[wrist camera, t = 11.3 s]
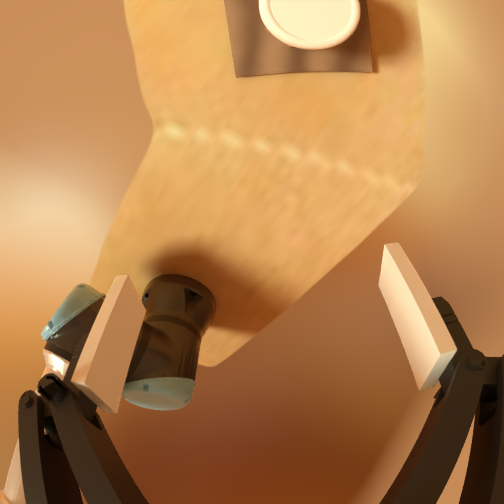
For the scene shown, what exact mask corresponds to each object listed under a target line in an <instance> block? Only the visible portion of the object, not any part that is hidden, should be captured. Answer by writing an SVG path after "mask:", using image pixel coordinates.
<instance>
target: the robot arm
mask: <svg viewBox="0 0 504 504" xmlns="http://www.w3.org/2000/svg"><path fill="white" fill-rule="evenodd" d="M378 286H379V288H380V290H381V293H382V295H383V297H384V299H385V302H386V304H387V306H388V309H389V311H390V314H391V316H392V319H393V321H394V324H395V326H396V329H397V331H398V334H399V336H400V339H401V341H402V344H403V347H404V350H405V352H406V355H407V358H408V361H409V363H410V366H411V369H412V372H413V374H414V378H415V381H416V384H417V387H418V390H419V391H421V390H424V389H427V388H430V387H434V386H435V384H436V383H437V381H438V380H439V382H440V384H441V388H440V389H439V390H438V392H437V393H436V395H435V396H434V398H435V402H434V404H433V406H432V409H431V411H430V413H429V416H428V418H427V420H426V422H425V424H424V427H423V429H422V431H421V433H420V435H419V437H418V439H417V441H416V443H415V445H414V447H413V449H412V451H411V452H410V454H409V456H408V458H407V460H406V462H405V463H404V465H403V467H402V469H401V470H400V472H399V474H398V476H397V477H396V479H395V480H394V482H393V484H392V485H391V487H390V488H389V490H388V491H387V493H386V495H385V496H384V498H383V499H382V501H381V502H380V503H379V504H436V502H437V501H438V499H439V497H440V495H441V493H442V491H443V489H444V487H445V485H446V484H447V482H448V479H449V477H450V475H451V473H452V471H453V469H454V467H455V464H456V462H457V460H458V457H459V455H460V453H461V450H462V448H463V445H464V443H465V440H466V438H467V435H468V432H469V429H470V427H471V423H472V421H473V418H474V415H475V421H474V430H473V437H472V444H471V451H470V456H469V462H468V467H467V472H466V477H465V481H464V486H463V490H462V493H461V497H460V501H459V504H504V355H503V356H502V357H485V356H484V354H483V353H482V352H480V351H478V350H475V349H473V347H472V346H471V344H470V341H469V339H468V338H467V336H466V334H465V332H464V330H463V328H462V326H461V324H460V322H458V319H457V317H456V315H455V314H454V311H453V309H452V308H451V306H450V304H449V303H448V302H447V301H446V300H445V299H443V298H442V297H436V298H432V299H431V297H430V295H429V293H428V292H427V290H426V288H425V286H424V284H423V282H422V281H421V279H420V277H419V276H418V274H417V272H416V270H415V269H414V267H413V266H412V264H411V262H410V261H409V259H408V257H407V256H406V254H405V253H404V251H403V249H402V248H401V246H400V245H399V243H391V244H385V245H384V252H383V260H382V266H381V273H380V279H379V285H378ZM215 307H216V304H215V300H214V298H213V296H212V294H211V293H210V291H209V290H208V289H207V288H206V287H204V286H203V285H202V284H200V283H199V282H197V281H195V280H193V279H190V278H188V277H184V276H179V275H164V276H160V277H157V278H155V279H153V280H151V281H150V282H149V283H148V284H147V286H146V288H145V291H144V293H143V296H142V302H141V300H140V298H139V296H138V294H137V292H136V290H135V288H134V286H133V284H132V282H131V280H130V278H129V276H128V275H120V276H116V277H115V279H114V281H113V283H112V285H111V287H110V289H109V291H108V293H107V295H106V296H105V294H104V293H100V292H99V291H97V290H95V289H94V288H92V287H91V286H89V285H87V284H79V285H77V286H76V287H75V288H74V289H73V290H72V291H71V292H70V293H69V295H68V296H67V297H66V298H65V300H64V301H63V302H62V304H61V305H60V306H59V308H58V309H57V310H56V312H55V313H54V315H53V316H52V318H51V320H50V321H49V322H48V324H47V325H46V326H45V328H44V329H43V331H42V333H41V336H42V338H43V339H44V340H45V341H47V343H46V345H45V347H44V349H43V354H44V357H45V361H46V368H45V370H44V372H43V375H42V377H41V379H40V381H39V383H38V386H37V389H36V392H34V391H31V390H29V391H26V392H24V393H23V395H22V396H21V398H20V400H19V412H18V414H19V417H18V421H19V422H18V423H19V424H18V425H19V438H18V441H17V444H16V448H15V451H14V454H13V458H12V461H11V465H10V468H9V473H8V476H7V480H6V485H5V489H4V490H0V504H83V501H82V497H81V493H80V489H81V491H82V493H83V495H84V497H85V499H86V501H87V503H88V504H149V503H148V502H147V500H146V499H145V497H144V496H143V494H142V493H141V491H140V489H139V488H138V486H137V485H136V483H135V482H134V480H133V478H132V477H131V475H130V473H129V472H128V470H127V468H126V467H125V465H124V463H123V461H122V460H121V458H120V456H119V454H118V452H117V450H116V449H115V447H114V445H113V443H112V441H111V439H110V437H109V435H108V433H107V431H106V429H105V427H104V425H103V423H102V421H101V419H100V416H99V415H98V413H97V412H96V408H97V406H98V407H99V408H100V409H101V410H102V411H104V412H110V413H117V411H118V407H119V403H120V399H121V395H122V396H123V398H125V399H126V400H127V401H129V402H131V403H133V404H135V405H138V406H141V407H144V408H149V409H156V410H175V409H179V408H182V407H184V406H186V405H187V404H188V403H189V402H190V400H191V398H192V394H193V389H194V386H195V378H196V371H197V364H198V358H199V351H200V344H201V339H202V337H203V335H204V334H205V332H206V331H207V329H208V327H209V326H210V324H211V322H212V321H213V318H214V314H215ZM79 487H80V489H79Z"/></svg>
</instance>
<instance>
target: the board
mask: <svg viewBox="0 0 504 504" xmlns="http://www.w3.org/2000/svg"><path fill="white" fill-rule="evenodd" d="M224 3H225V9H226V15H227V22H228V28H229V35H230V41H231V48H232V55H233V61H234V68H235V75H236V78H237V77H245V76H254V75H264V74H275V73H289V72H310V71H357V72H373V70H372V53H371V40H370V29H369V20H368V11H367V3H366V0H359V3H360V19H359V22H358V25H357V27H356V29H355V31H354V32H353V34H352V35H351V36H350V37H349V38H348V39H346V40H345V41H344V42H342V43H341V44H338V45H336V46H334V47H330V48H326V49H316V50H308V49H301V48H297V47H288V46H287V45H285V44H284V43H283V42H281V41H280V40H279V39H277V38H276V37H275V36H273V35H272V34H270V33H269V32H268V31H266V30H265V24H264V23H263V21H262V19H261V15H260V11H259V0H224Z"/></svg>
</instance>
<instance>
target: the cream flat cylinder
mask: <svg viewBox="0 0 504 504" xmlns="http://www.w3.org/2000/svg"><path fill="white" fill-rule="evenodd" d="M259 11H260V15H261V19H262V21H263V23H264V24H265V26H266V27H267V29H268V30H269V31H270V32H271V33H272V34H273V35H274V36H275V37H276V38H278V39H279V40H281V41H282V42H284V43H286V44H288V45H291V46H293V47H297V48H301V49H308V50H316V49H326V48H330V47H334V46H336V45H338V44H341V43H342V42H344V41H345V40H346V39H348V38H349V37H350V36H351V35H352V34H353V32H354V31H355V29H356V27H357V25H358V22H359V19H360V3H359V0H259Z"/></svg>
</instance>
